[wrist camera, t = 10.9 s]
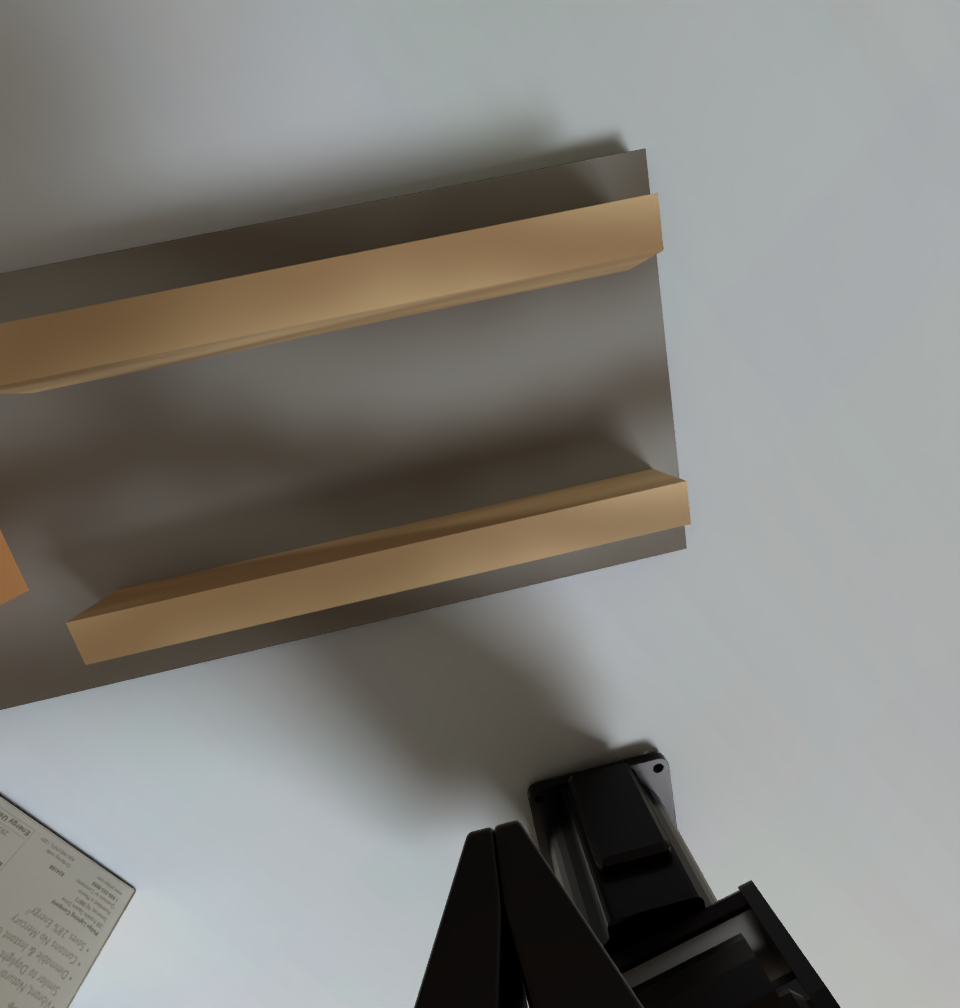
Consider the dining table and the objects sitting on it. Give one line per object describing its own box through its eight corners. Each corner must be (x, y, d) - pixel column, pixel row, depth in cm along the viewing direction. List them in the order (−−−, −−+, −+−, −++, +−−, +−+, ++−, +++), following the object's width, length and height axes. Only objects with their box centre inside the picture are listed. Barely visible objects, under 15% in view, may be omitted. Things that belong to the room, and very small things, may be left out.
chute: (676, 542, 20) (723, 571, 17) (-153, 736, 18) (-276, 810, 15) (635, 159, 16) (684, 104, 13) (-395, 360, 15) (-619, 353, 12)
